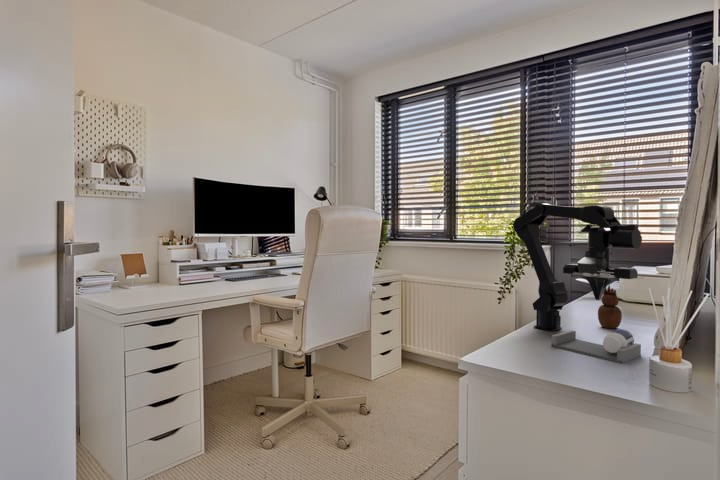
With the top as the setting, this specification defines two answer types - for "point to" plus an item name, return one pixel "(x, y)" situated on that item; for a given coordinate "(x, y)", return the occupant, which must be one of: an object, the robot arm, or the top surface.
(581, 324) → the top surface
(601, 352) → the tray
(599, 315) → the wooden figurine
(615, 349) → the pill bottle
